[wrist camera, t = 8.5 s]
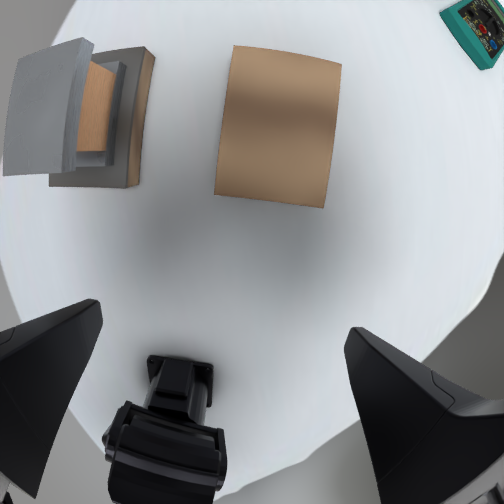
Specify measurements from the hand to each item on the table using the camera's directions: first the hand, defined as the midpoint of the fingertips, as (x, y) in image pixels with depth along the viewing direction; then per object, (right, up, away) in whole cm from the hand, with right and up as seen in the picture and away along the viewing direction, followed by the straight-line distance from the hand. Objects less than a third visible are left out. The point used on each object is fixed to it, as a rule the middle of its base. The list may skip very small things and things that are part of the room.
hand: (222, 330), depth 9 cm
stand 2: (+3, +11, +9) cm, 15 cm away
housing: (-10, +12, +6) cm, 17 cm away
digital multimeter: (+27, +28, +4) cm, 39 cm away
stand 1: (-10, +13, +8) cm, 18 cm away
